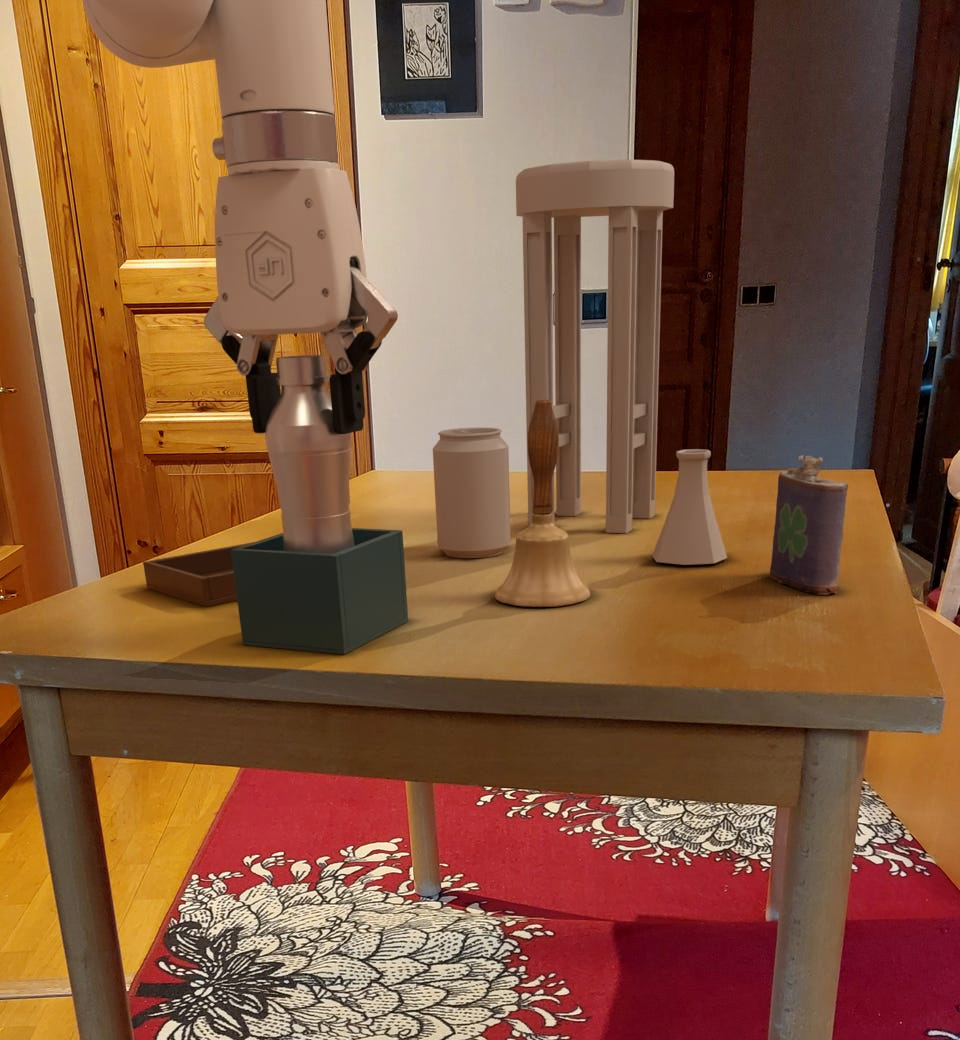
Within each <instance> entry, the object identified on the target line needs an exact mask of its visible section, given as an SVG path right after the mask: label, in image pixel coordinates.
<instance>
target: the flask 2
mask: <svg viewBox="0 0 960 1040" xmlns="http://www.w3.org/2000/svg"><path fill="white" fill-rule="evenodd" d="M797 460H798V463H801V462H802V463H803V466H798V467H797V468H788V469H787V470H782V471H781V472H780V473H779V474H778V477H777V480H778V481H777V495H776V503H775V521H774V527H773V538H772V549H771V550H772V551H771V560H770V567H769V568H770V569H769V577H770V579H772V580H774V581H775V582H777V583H780V584H783V585H787V586H789V587H791V588H794V589H796V590H800V591H804V592H806V593H813V594H815V595H819V596H821V595H823V596H827V595H830V594H831V593H832V594H833V593H835V594H837V592H838V590H839V587H840V586H839V585H840V583H839V579H840V574H841V573H840V572H841V555H842V545H843V539H844V536H843V535H844V523H845V516H846V515H845V514H846V503H847V495H848V489H849V483H847V482H843V481H835V480H832V479H826V478H821V477H818V474H819V473H820V472H821V469H820V466H821V465H822V464H823V463H824V459H823V457H822V456H818V457H817V458H815V457H813V456H811V455H806V456H805V457H804V455H799V456H798V457H797ZM827 589H828V590H827Z"/></svg>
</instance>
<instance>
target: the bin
mask: <svg viewBox="0 0 960 1040" xmlns="http://www.w3.org/2000/svg"><path fill="white" fill-rule="evenodd" d="M352 532H353V538H354V544H355V546H353V547H351V548H348V549H345V550H343V551H340V552H337V553H335V554H323V553H306V552H288V551H284V540H283V532H281V533H278V534H274V535H271V536H269V537H265V538H262V539H260V540H257V541H252V542H253V543H252V542H249V543H250V544H247V545H244V546H241V547H238V548H235V549H232V550H231V555H232V563H233V570H234V578H235V586H236V594H237V601H236V602H237V607H238V616H239V617H238V618H239V622H240V623H239V625H240V633H241V640H242V643H241V644H242V645H243V646H250V647H251V646H253V647H264V648H271V649H272V648H273V649H284V650H293V651H303V652H304V651H305V652H314V653H315V652H316V653H325V654H334V655H347V654H348V653H350V652H352V651H354V650H356V649H358V648H360V647H361V646H363V645H365V644H368V643H370V642H372V641H373V640H375V639H377V638H379V637H381V636H383V635H385V634H387V633H388V632H390V631H393V630H394V629H396V628H398V627H400V626H402V625H404V624H406V623H408V622H409V612H408V610H409V609H408V596H407V582H406V579H407V578H406V563H405V551H404V549H405V548H404V534H403V530H402V529H383V528H382V529H381V528H362V527H361V528H359V527H352Z"/></svg>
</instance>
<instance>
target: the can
mask: <svg viewBox="0 0 960 1040" xmlns="http://www.w3.org/2000/svg"><path fill="white" fill-rule="evenodd" d="M502 432H503V431H502V429H500V428H496V427H459V428H458V427H457V428H450V429H444V430H440V431H439V432H438V433H437V435H438V436H439V440H437V442H436V443H435V445H434V446H433V447H432V462H433V484H434V499H435V500H434V501H435V503H434V504H435V520H436V521H435V522H436V538H437V540H436V541H437V547H438V548H439V549H440V550H442V551H443V552H444V553H445V555H446V556H448V557H451V558H458V559H485V558H491V557H495V556H498V555H501V554H503V553H504V551H505V550H506V549H507V548H508V547H509V545H511V543H512V534H511V532H512V531H511V498H510V497H511V496H510V495H511V494H510V493H511V492H510V490H511V489H510V458H509V457H510V455H509V445H508V444H507V442H506V441H505V440H504V439H503V438H502V437H501V433H502Z"/></svg>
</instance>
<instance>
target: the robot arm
mask: <svg viewBox="0 0 960 1040" xmlns="http://www.w3.org/2000/svg"><path fill="white" fill-rule="evenodd" d="M82 5H83V10H84V13H85V16H86V19H87V21H88V23H89V27H90V28H91V30H92V32H93V33H94V35H95V36H96V38H97V39H98V40H99V42H100V43H101V44H102V45H103V47H104V48H106V49H107V50H108V51H109V52H110V53H111V54H113V55H114V56H115V57H117V58H118V59H120V60H122V61H124V62H125V63H128V64H130V65H133V66H137V67H142V68H149V69H160V68H161V69H162V68H167V67H174V66H181V65H186V64H193V63H199V62H200V63H201V62H206V61H214V62H215V63H214V65H215V71H216V73H215V74H216V80H217V81H216V82H217V90H218V99H219V107H220V116H221V130H222V131H221V132H222V136H221V137H215V138H214V139H213V141H212V145H211V147H212V148H211V149H212V152H213V155H214V157H215V158H216V159H217V160H218V161H224V160H225V165H226V166H225V167H226V170H227V175H225V176H218V177H217V184H216V195H215V207H214V208H215V209H214V254H215V273H216V287H217V297H216V298H215V300H214V302H213V303H212V305H211V306H210V308H209V310H208V311H207V313H206V314H205V316H204V318H203V324H204V327H205V328H206V329H207V331H208V332H209V333H210V334H211V335H212V336H213V337H214V339H215V340H216V341H217V342H218V343H219V344H221V347H222V350H223V351H224V353H226V355H227V356H228V357H229V358H230V359H231V360H232V362H233V363H234V364H235V365H236V371H237V372H238V373H239V374H240V375H241V376H243V377H245V383H246V393H247V401H248V410H249V416H250V419H251V425H252V431H253V432H254V434H265V431H266V425H267V422H268V419H269V417H270V415H271V412H272V410H273V408H274V406H275V405H276V403H277V401H278V399H279V397H280V396H281V385H277V379H276V378H278V375H277V372H272V365H273V361H274V357H275V352H276V347H277V343H278V339H279V335H289V334H290V335H294V334H317V333H320V335H321V338H322V340H323V342H324V345H325V347H326V349H327V352H328V354H329V356H330V358H331V361H332V363H333V365H334V368H335V373H333V374H330V375H329V382H328V383H329V392H330V397H331V405H332V416H333V428H334V431H335V432H336V433H337V434H347V433H351V434H352V433H356V432H360V431H362V430H364V419H365V417H366V405H365V404H366V403H365V392H364V391H365V389H364V379H363V372H366V371H367V370H368V369H369V366H370V361H371V360H372V359H373V357H374V356H375V354H376V353H377V352H378V350H379V349H380V348H381V345H382V344H383V340H384V339H385V338H386V337H387V335H388V334H389V333H390V331H391V329H392V328H393V327H394V325H395V324H396V322H397V321H398V318H399V314H398V311H397V310H396V309H395V308H394V306H393V305H392V304H391V302H389V301H388V300H387V298H385V296H384V295H383V294H382V293H381V292H380V291H379V290H378V289H377V287H375V285H374V284H372V282H371V281H370V280H369V279H368V277H367V276H368V275H367V268H366V260H365V251H364V243H363V239H362V233H361V227H360V221H359V216H358V211H357V206H356V202H355V199H354V195H353V190H352V186H351V183H350V180H349V177H348V172H347V171H346V170H342V169H340V165H339V154H338V139H337V129H336V126H337V125H336V117H335V101H334V100H335V99H334V90H333V89H334V87H333V78H332V77H333V75H332V67H331V66H332V64H331V53H330V39H329V37H330V36H329V27H328V26H329V25H328V13H327V0H82ZM364 324H365V325H364ZM363 325H364V327H363V329H362V331H360V332H358V331H357V330H356V329H358V328H360V327H362V326H363Z"/></svg>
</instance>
